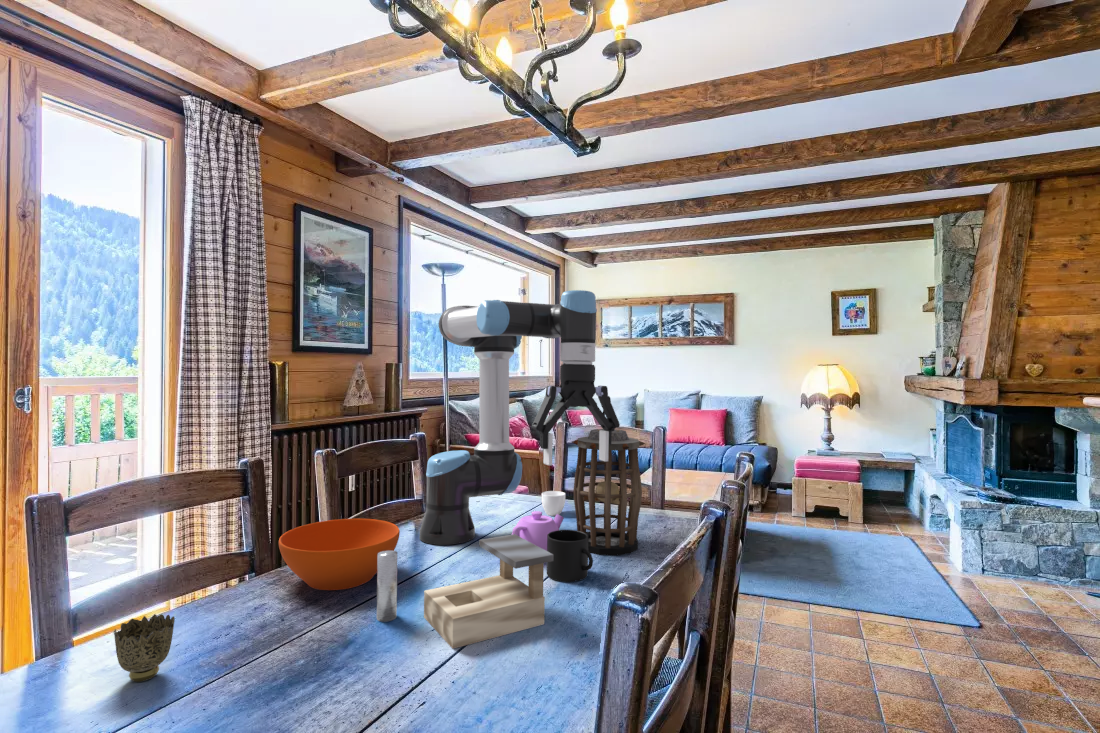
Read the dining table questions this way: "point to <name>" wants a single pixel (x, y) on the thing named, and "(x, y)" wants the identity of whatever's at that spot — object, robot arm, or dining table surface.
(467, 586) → the socket porch
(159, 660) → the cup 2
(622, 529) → the lantern
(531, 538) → the teapot
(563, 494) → the cup
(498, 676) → the dining table surface
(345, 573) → the bowl
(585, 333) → the robot arm
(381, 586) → the peg
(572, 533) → the mug
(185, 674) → the dining table surface
